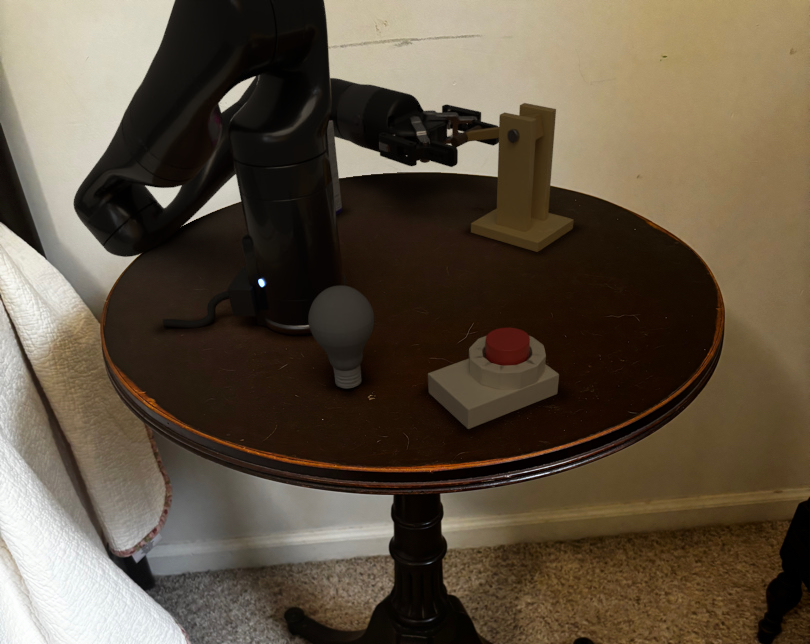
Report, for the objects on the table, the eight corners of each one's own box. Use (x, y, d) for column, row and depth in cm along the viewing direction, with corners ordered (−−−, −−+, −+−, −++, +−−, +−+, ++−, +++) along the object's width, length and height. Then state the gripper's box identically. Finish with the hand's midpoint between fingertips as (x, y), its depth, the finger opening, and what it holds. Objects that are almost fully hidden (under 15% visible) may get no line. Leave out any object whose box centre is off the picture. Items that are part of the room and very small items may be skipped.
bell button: (501, 372, 72) (502, 355, 70) (476, 352, 74) (477, 335, 73) (537, 358, 73) (538, 341, 72) (512, 339, 75) (513, 322, 74)
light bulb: (371, 404, 75) (362, 307, 68) (310, 400, 76) (295, 304, 69) (385, 370, 79) (378, 275, 72) (327, 366, 80) (314, 272, 73)
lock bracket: (470, 232, 101) (471, 114, 91) (507, 210, 105) (511, 95, 95) (537, 252, 96) (545, 129, 86) (572, 228, 100) (584, 109, 91)
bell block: (468, 429, 72) (468, 392, 69) (428, 392, 76) (426, 356, 73) (557, 394, 75) (561, 357, 72) (514, 360, 79) (516, 324, 77)
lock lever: (452, 153, 98) (448, 132, 96) (477, 141, 100) (473, 120, 99) (526, 145, 91) (522, 122, 89) (550, 132, 93) (547, 109, 92)
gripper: (414, 133, 112) (509, 160, 104) (344, 166, 105) (440, 197, 97) (413, 74, 107) (513, 97, 99) (339, 104, 99) (440, 131, 92)
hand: (477, 146), depth 98 cm, fingers open, 8 cm apart
